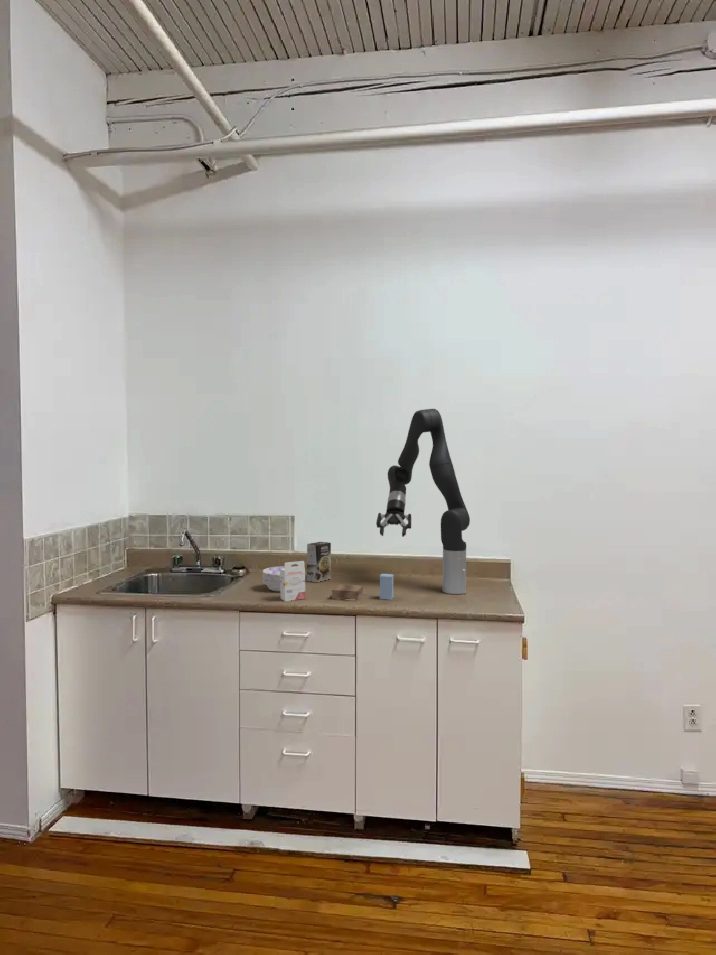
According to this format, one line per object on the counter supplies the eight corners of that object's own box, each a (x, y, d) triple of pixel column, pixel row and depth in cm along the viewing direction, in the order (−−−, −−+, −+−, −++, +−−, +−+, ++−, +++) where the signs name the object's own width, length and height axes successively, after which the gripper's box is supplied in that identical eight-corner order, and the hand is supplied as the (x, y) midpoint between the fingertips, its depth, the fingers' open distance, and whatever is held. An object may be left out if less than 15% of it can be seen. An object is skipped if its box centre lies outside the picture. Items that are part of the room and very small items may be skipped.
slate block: (393, 597, 259) (393, 574, 259) (391, 600, 255) (391, 576, 254) (381, 596, 260) (381, 573, 259) (379, 599, 255) (379, 576, 255)
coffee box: (317, 583, 283) (317, 545, 282) (306, 581, 287) (306, 543, 286) (331, 579, 290) (331, 542, 289) (320, 577, 294) (320, 540, 293)
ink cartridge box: (300, 596, 260) (300, 558, 259) (305, 599, 255) (305, 560, 254) (279, 598, 256) (279, 560, 255) (284, 601, 251) (284, 562, 251)
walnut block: (362, 595, 263) (363, 585, 263) (357, 601, 253) (357, 591, 253) (338, 594, 265) (338, 584, 265) (332, 600, 255) (332, 589, 255)
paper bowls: (268, 594, 262) (268, 574, 261) (258, 586, 276) (257, 567, 275) (305, 591, 268) (305, 571, 268) (293, 583, 282) (293, 564, 282)
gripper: (378, 498, 281) (374, 529, 270) (412, 498, 278) (409, 530, 268) (380, 509, 286) (376, 540, 276) (413, 510, 284) (410, 541, 273)
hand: (392, 535), depth 272 cm, fingers open, 8 cm apart
